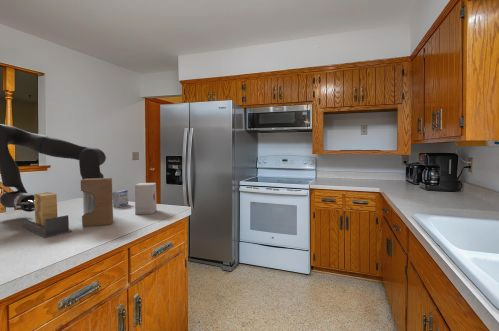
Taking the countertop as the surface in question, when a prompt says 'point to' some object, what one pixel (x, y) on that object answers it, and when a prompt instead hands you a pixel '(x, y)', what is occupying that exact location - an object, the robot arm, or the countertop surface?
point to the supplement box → (145, 198)
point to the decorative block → (98, 201)
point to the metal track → (49, 226)
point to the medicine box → (120, 198)
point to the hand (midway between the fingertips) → (42, 206)
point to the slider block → (45, 207)
